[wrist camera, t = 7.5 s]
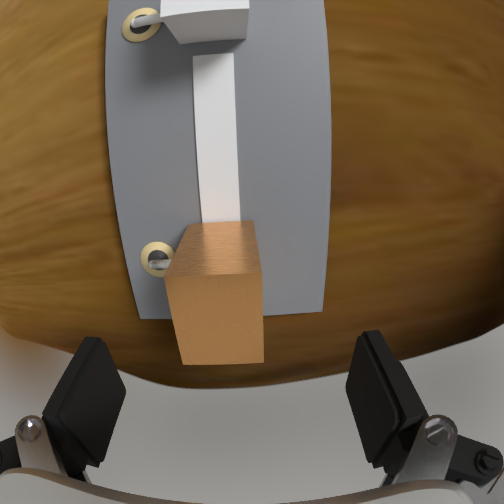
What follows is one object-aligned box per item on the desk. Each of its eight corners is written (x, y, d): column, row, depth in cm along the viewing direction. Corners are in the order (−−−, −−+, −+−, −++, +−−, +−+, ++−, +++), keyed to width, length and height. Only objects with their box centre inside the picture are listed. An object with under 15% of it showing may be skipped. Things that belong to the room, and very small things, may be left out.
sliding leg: (253, 220, 18) (262, 272, 12) (255, 290, 20) (263, 362, 14) (144, 226, 18) (100, 278, 12) (156, 294, 20) (128, 362, 14)
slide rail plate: (315, -10, 14) (344, -53, 8) (317, 300, 23) (340, 354, 17) (116, 5, 13) (77, -29, 7) (145, 308, 23) (121, 362, 17)
